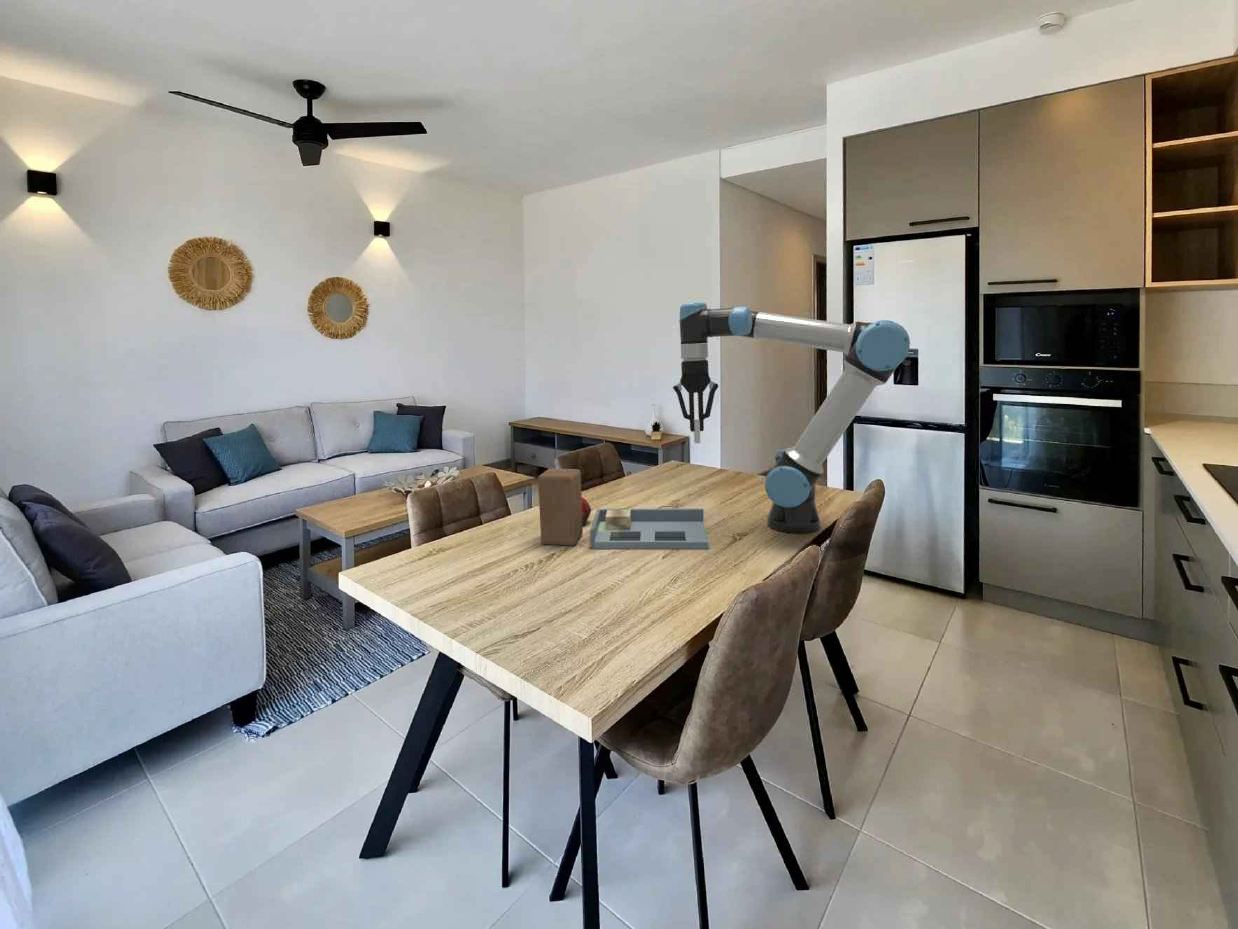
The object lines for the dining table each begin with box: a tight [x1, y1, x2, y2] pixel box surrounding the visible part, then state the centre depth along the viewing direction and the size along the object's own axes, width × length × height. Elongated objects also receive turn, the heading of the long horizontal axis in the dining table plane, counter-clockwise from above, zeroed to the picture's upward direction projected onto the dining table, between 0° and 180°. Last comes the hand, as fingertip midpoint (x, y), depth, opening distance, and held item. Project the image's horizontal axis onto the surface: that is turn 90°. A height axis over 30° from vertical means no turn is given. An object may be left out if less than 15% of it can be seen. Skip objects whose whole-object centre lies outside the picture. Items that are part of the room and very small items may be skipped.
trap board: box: [589, 508, 710, 550], centre depth 173 cm, size 32×20×6 cm, turn 86°
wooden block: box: [537, 468, 584, 546], centre depth 170 cm, size 10×10×20 cm
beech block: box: [605, 510, 631, 530], centre depth 177 cm, size 7×7×4 cm
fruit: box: [581, 496, 592, 524], centre depth 187 cm, size 9×10×10 cm
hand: (697, 442), depth 173 cm, fingers closed
